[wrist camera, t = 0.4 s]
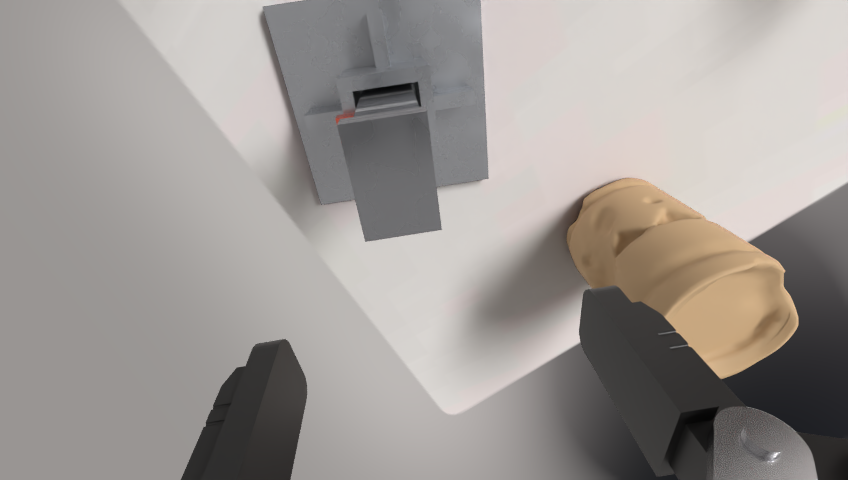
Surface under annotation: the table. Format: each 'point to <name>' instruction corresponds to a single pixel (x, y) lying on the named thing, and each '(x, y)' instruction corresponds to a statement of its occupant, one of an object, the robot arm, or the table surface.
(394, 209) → the column
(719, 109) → the table surface
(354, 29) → the stand
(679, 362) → the robot arm
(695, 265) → the container
